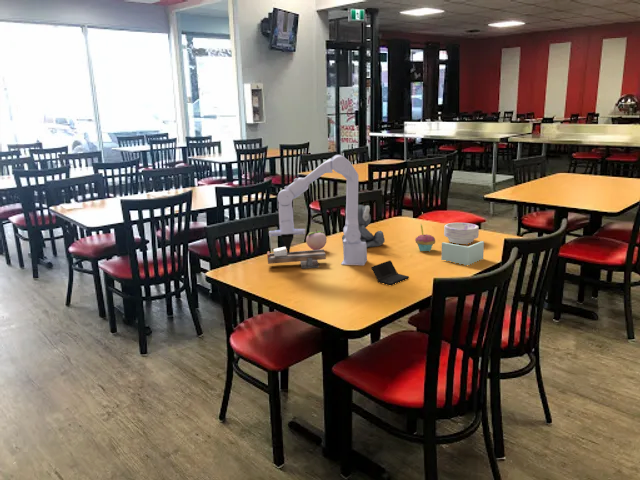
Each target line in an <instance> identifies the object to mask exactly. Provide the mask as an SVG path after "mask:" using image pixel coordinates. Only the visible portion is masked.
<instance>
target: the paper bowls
mask: <svg viewBox="0 0 640 480" xmlns="http://www.w3.org/2000/svg"><path fill="white" fill-rule="evenodd" d="M443 227H444V229H443V231H444V232H443V235H444V237H445V238H447V239H448V241H449V243H451V242H452V243H451V244H453V243H456V245H459V244H466V245H469V244H468V243H470V244H472V243H473V242H474V240H476V239H478V238H479V232H480V230H479V227H480V226H479V225H477V224H474V223H469V222H450V223H446V224H445V225H444V226H443ZM471 242H472V243H471Z"/></svg>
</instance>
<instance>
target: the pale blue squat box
mask: <svg viewBox="0 0 640 480" xmlns="http://www.w3.org/2000/svg"><path fill="white" fill-rule="evenodd" d="M484 248H485V242H484V240H480V241H479V242H476V243H474V244H470V245H469V246H468V245H459V244H453V243H451V242H445V241H443V242H441V257H440V258H441V260H446V261H451V262H455V263H454V264H456V263H459V264H458V265H461V264H464V265H463V266H466V265H469V266H471V265H473V264H475V263H474V262H476V263H478V262H480V261H482V260H484V254H485V253H484V252H485V251H484ZM481 259H482V260H481ZM479 260H480V261H479ZM446 261H445V262H446ZM477 261H478V262H477ZM451 262H450V263H451ZM472 263H473V264H472ZM470 264H471V265H470Z"/></svg>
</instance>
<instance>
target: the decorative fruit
mask: <svg viewBox="0 0 640 480" xmlns="http://www.w3.org/2000/svg"><path fill="white" fill-rule="evenodd" d="M327 241H328V240H327V236H326V235H325V232H324V231H323V230H317V229H315V231H310V232H309V233H308V234H307V235H306V239H305V242H306V245H307V246H308V247H309V248H310V250H321V249H323V248H324V247H325V245H326V244H327Z"/></svg>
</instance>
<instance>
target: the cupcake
mask: <svg viewBox="0 0 640 480" xmlns="http://www.w3.org/2000/svg"><path fill="white" fill-rule="evenodd" d="M420 231H421V234H419V235H418V236H416V237H415V239H414V240H415V243H416V244H417V247H418V250H419V251H420V252H421V251H429V252H431V251H432V248H433V246H434V245H435V244H436V238H435V237H434V236H432V234H431V235H430V234H424V229H423V225H422V224H420ZM430 250H431V251H430Z"/></svg>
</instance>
